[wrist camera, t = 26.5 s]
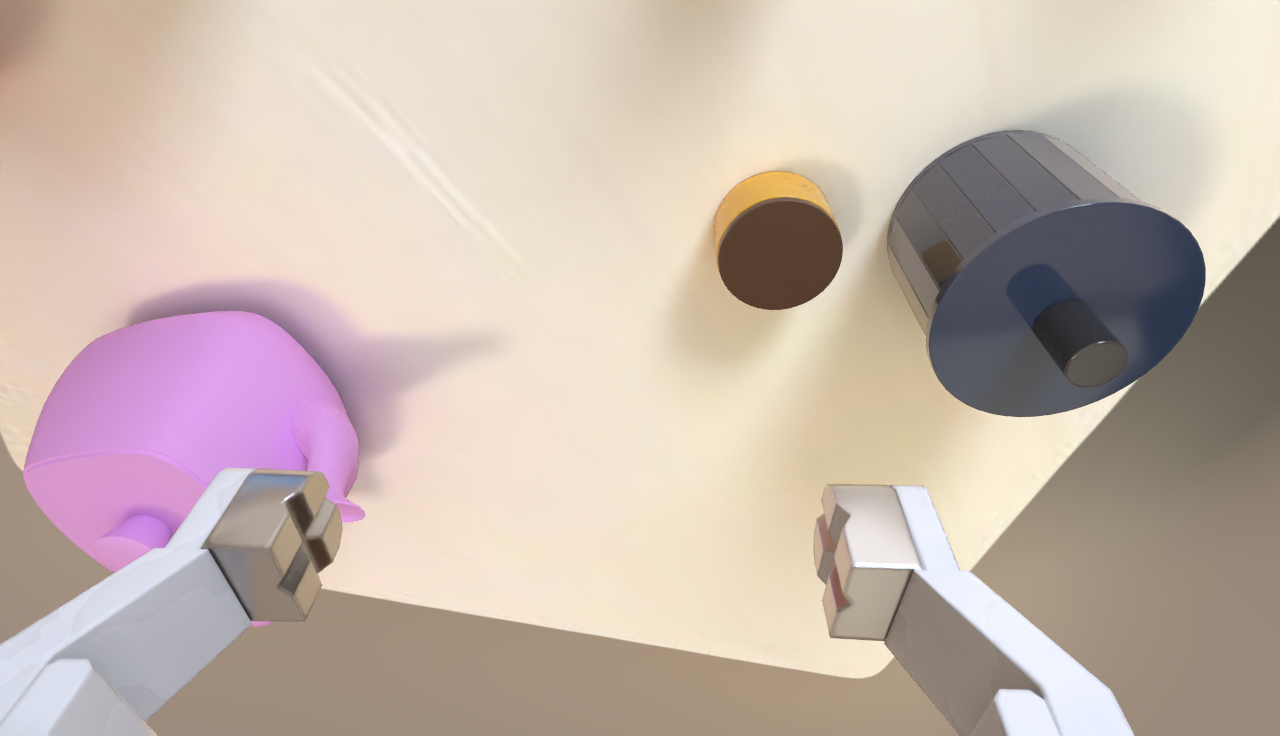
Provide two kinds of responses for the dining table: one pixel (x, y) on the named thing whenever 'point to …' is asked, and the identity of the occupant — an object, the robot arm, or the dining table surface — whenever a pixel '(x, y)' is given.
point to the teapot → (180, 428)
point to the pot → (981, 203)
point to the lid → (1065, 306)
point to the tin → (776, 241)
